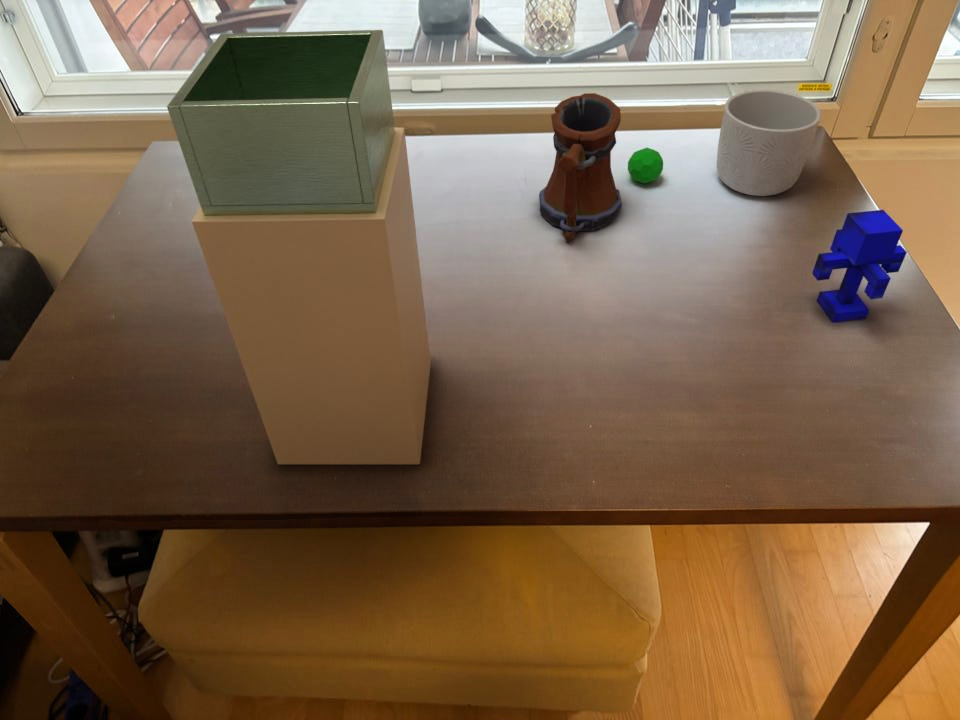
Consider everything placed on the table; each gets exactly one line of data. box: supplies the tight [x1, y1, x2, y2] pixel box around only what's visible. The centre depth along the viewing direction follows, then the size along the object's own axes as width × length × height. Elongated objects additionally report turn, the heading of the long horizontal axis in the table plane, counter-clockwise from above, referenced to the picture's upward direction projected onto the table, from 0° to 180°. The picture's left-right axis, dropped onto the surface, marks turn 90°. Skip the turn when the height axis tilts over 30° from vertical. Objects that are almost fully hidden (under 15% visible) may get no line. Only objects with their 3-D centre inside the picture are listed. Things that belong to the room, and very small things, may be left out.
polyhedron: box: [627, 147, 664, 184], centre depth 107 cm, size 5×5×5 cm
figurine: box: [811, 209, 908, 323], centre depth 83 cm, size 8×8×12 cm
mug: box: [538, 92, 623, 242], centre depth 96 cm, size 18×12×15 cm, turn 164°
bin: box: [166, 29, 431, 465], centre depth 65 cm, size 14×14×36 cm
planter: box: [716, 89, 822, 197], centre depth 104 cm, size 12×12×11 cm
